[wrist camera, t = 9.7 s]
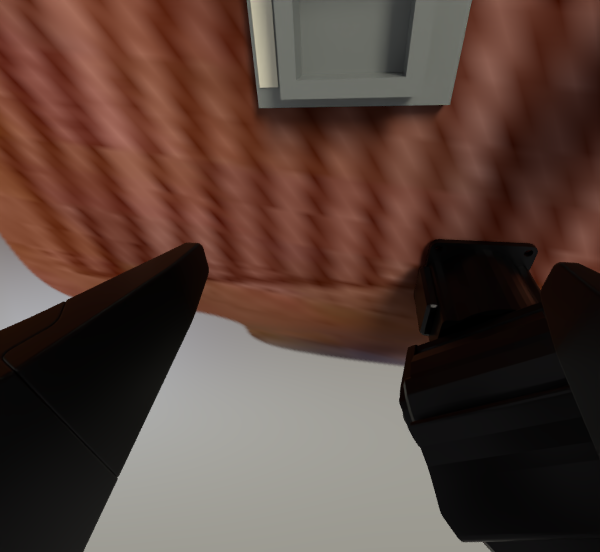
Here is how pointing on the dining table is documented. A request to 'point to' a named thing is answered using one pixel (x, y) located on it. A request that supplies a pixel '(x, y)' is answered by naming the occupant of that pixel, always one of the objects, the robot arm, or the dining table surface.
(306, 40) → the socket block
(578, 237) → the dining table surface
